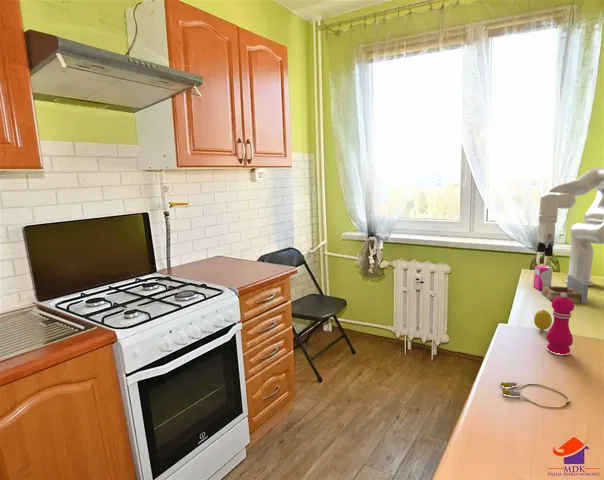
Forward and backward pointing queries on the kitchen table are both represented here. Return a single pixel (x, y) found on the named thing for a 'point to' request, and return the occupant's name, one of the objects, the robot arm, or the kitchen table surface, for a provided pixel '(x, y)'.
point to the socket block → (555, 291)
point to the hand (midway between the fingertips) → (544, 253)
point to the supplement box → (542, 277)
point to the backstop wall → (578, 287)
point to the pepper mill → (560, 325)
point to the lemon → (542, 320)
